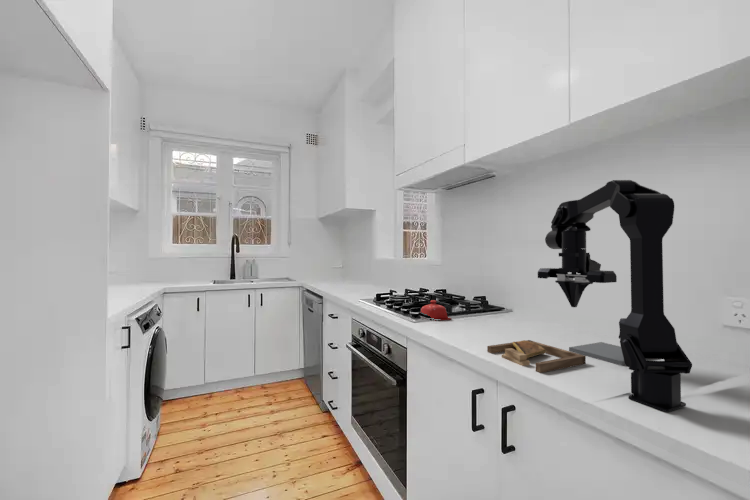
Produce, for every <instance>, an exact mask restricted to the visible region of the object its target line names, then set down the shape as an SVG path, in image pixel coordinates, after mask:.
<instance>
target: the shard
mask: <svg viewBox="0 0 750 500" xmlns="http://www.w3.org/2000/svg"><path fill="white" fill-rule="evenodd" d="M512 342H513V346H514V347H515V348H516V349H517V351H519V352H521V353H524V354H526V355H527V359H529V358H533V357H535V356H538V355H544V354H546V353H545V352H546V350H545V349H544V348H542V347H541V346H539V345H537V344H534V343H531V342H529V341H526V340H520V341H519V340H518V341H512Z"/></svg>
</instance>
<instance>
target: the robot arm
mask: <svg viewBox="0 0 750 500" xmlns="http://www.w3.org/2000/svg"><path fill="white" fill-rule="evenodd" d="M608 208H611V209H612V211H614V212H615V213H616V214H617V215H618V218H619V226H620V228H621V229H622V230H623V231H622V232H624V233H625V234H626V236H627V237H628V239H629V250H630V252H629V253H630V254H629V255H630V304H631V305H630V307H631V311H630V312H629V313H628V315H627V317H625V318H622V317H621V318H620V319H619V322H618V327H619V334H618V339H619V344H620V345H619V346H620V347H621V349H622V353H623V357H624V362H625V365H624V366H626V367H628V370H630V371H632V372H631V373H630V393H631V395H628V399H629V400H631V401H634V402H637V403H639V404H642V405H646V406H648V407H651V408H654V409H657V410H660V411H662V412H667V413H669V412H672V411H675V410H678V409H681V408H684V407H687V403H686V402H684V401H682V385H681V384H682V383H681V381H682V379H681V378H682V377H681V376H682V375H681V374H686V375H687V374H690V373H691V370H692V368H693V363H692V362H691V360H690V359H689V357H688V356H687V355H686V353H685V351H684V350H683V349H682V347H681V345H680V344H679V343H678V341H677V335H676V331H675V327H674V326H673V324H672V323H671V322H670V320H669V319H668V318H667V316H666V315H665V309H664V308H665V307H664V304H665V303H664V262H663V261H664V260H663V257H664V256H663V238H664V236H665V235H666V234H667V233H668V232H669V230H670V228H671V227H672V226H673V223H674V222H673V221H674V215H675V201H674V199H673V198H671V197H670V196H669V195H668V194H665V193H661V192H659V191H657V190H655V189H653V188H649V187H646V186H644V185H640V184H639V183H638V182H637V181H634V180H631V179H612V180H611V181H607V182H606V183H605V185H604V186H602V187H600V188H598V189H596V190H594V191H592V192H591V193H590V194H587V195H585V196H583V197H582V198H580V199H579V198H578V199H572V200H566V201H564V202H561V203H560V204H559V206H558V207H557V209H556V211H555V213H554V216H553V218H552V221H551V226H550V228H551V230H550V231H548V233H547V234H546V236H545V239H544V241H545V244H546V246H547V247H548V248H550V249H551V250H561V252H558V257H561V267H557V268H556V267H554V268H553V267H547V268H546V267H544V268H543V267H541V268H539V269H538V271H537V279H548V278H556V279H557V280H555V283H556V284H558V286H559V287H560V288H561V290H562V292H563V293H564V295H565V297H566V299H567V301H568V303H569V306H570V307H571V308H577V307H578V306H579V303H580V300H581V297H582V295H583V292H584V291H585V289H586V288H587V287H588V286H590V285H593V284H594V283H596V284H598V283H599V284H606V283H607V284H608V283H611V284H612V283H617V279H618V277H617V274H616V272H615V271H614V270H601V267H602V265H601V263H600V262H597V261H596V260H594V259H592V258H591V254H590V252H587V232H591V229H592V228H591V227H590V226H588V225H587V223H588V222H590V221H591V220H592V219H594V217H595V216H594V215H595V214H596V213H598V212H601V211H603V210H604V209H608ZM646 359H649V360H646Z"/></svg>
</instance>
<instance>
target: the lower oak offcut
mask: <svg viewBox="0 0 750 500" xmlns="http://www.w3.org/2000/svg"><path fill="white" fill-rule="evenodd" d="M501 359H504V360H506V361H507V360H508V361H509V362H511V363H514V364H517V365H519V366H522V367H525V366H531V364H530V363H531V362H530V360H527V361H518V360H515V359H513V358H511V357H509V356H507V355H505V353H503V354H501Z"/></svg>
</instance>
